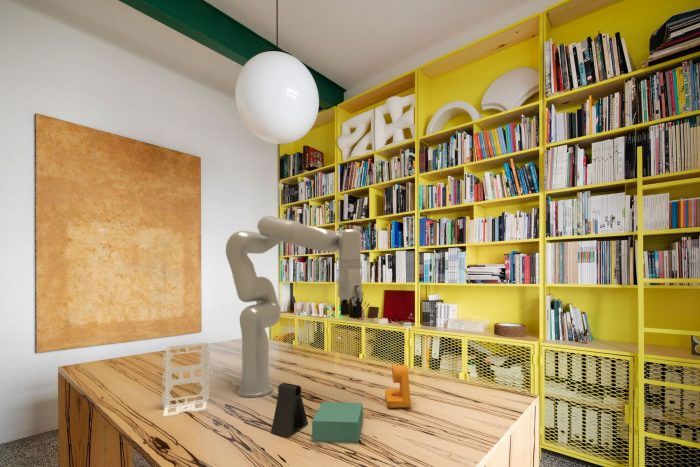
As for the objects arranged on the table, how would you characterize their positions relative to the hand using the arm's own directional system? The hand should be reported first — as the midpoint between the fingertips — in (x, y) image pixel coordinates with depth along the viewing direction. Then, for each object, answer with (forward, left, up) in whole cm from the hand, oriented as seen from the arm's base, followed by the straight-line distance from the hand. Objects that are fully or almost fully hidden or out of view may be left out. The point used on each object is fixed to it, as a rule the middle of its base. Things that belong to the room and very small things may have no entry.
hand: (350, 316), depth 117 cm
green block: (-2, -19, -28) cm, 34 cm away
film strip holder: (-56, -6, -29) cm, 63 cm away
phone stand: (-16, -19, -29) cm, 38 cm away
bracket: (+14, +1, -29) cm, 32 cm away
